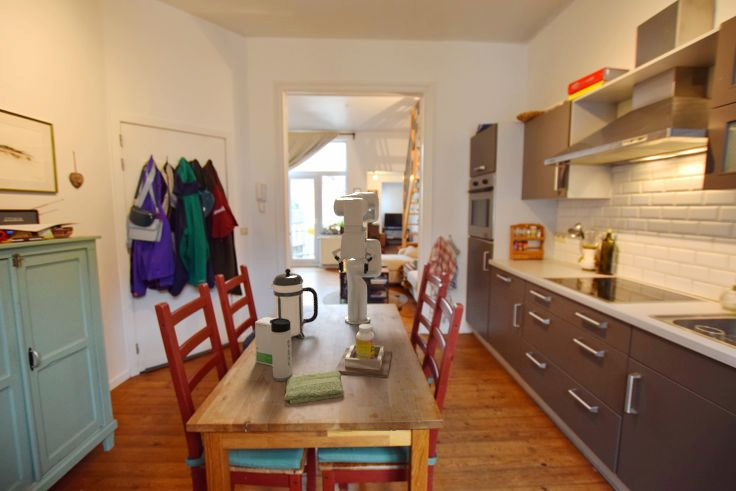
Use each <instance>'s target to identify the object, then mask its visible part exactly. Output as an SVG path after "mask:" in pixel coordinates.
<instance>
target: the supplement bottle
mask: <svg viewBox="0 0 736 491" xmlns="http://www.w3.org/2000/svg"><path fill="white" fill-rule="evenodd" d="M358 325H359V326H358V332H357V333H356V334H355V344H356V358H362V359H374V345H375V334H374V332H373V331H372V328H373V326H372V325H371V324H369V323H365V324H358Z"/></svg>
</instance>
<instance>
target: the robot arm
mask: <svg viewBox="0 0 736 491" xmlns="http://www.w3.org/2000/svg"><path fill="white" fill-rule="evenodd" d="M379 200H380V199H379V197H378V194H377V193H376V192H373V191H369V192H368V191H364V192H363V191H357V192H353V193H352V194H347V195H343V196H337V197H336V198H335V200H334V202H333V212H334V214H335V216H337V217H343V233H342V234H341V238H340V239H341V240H340V247H338V248H337V249H335V250H333V251H332V252H331V254H332V256H333V258H334V260H336V261H337V263H338V270H339V272H340V274H342V273H343V272H344V270H345V273H346V279H347V315H346V316H345V317H344V321H345V322H346V323H347V324H350V325H361V324H369V323H370V322H371V317H370V316H369V315H368V286H367V282H366V281H365V279H363V278H377V277H380V276H381V275H382V269H383V268H382V265H383V264H382V246H381V245H382V244H381V242H380V240H378V239H375V238H367V229H368V228H367V227H366V226H364V223H376V222H377V221H378V220H379V216H380V202H379ZM339 252H340V254H339V255H340V256H339V255H338V253H339ZM345 259H346V262H345V266H344V260H345ZM344 268H345V269H344Z"/></svg>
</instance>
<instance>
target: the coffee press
mask: <svg viewBox="0 0 736 491" xmlns="http://www.w3.org/2000/svg"><path fill="white" fill-rule="evenodd" d="M284 272H285V273H281V274H278V275H276V276H275V277H274V278H273V281H272V283H271V284H270V286H269V289H273V296H274V298H273V299H274V300H273V301H274V318H284V319H288V320H289V321H290V327H291V338H292V337H296V336H298V337H299V339H304V338H305V336H306V335H305V333H304V332H303V331H304V330H305V329H304V328H305V327H304V325H305V324H309V323H312V322H314V321H315V320H316V319H317V317H318V314H319V303H318V301H319V298H318V293H317V292H316V290H315V289H314V288H313V287H308V286H306V287H304V286H303V283H304V279H303V277H302V276H301V275H300V274H298V273H292V272H291V269H290V268H286V269H285V270H284ZM304 292H310V293H311V294H312V295H313V297H312V298H313V315H312V316H311V317H309V318H304V299H303V298H304Z"/></svg>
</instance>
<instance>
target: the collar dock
mask: <svg viewBox="0 0 736 491" xmlns="http://www.w3.org/2000/svg"><path fill="white" fill-rule="evenodd" d="M392 354H393V350H386V349H385V346H384V345H377V344H374V359H362V358H356V343H352V344H351V345H350V346H349V347H345V350H344V352H343V354H342V356H341V358H340V360H339V362H338V364H337V365H336V368H335V370H336V371H338V372H339V373H340V374H341V375H351V376H352V375H353V376H354V375H355V376H365V377H366V376H367V377H376V378H377V377H378V378H388V376H389V370H390V365H391V360H392Z"/></svg>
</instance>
